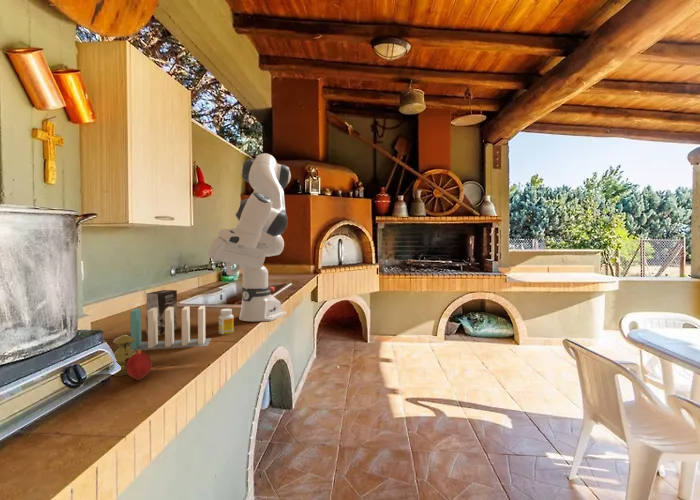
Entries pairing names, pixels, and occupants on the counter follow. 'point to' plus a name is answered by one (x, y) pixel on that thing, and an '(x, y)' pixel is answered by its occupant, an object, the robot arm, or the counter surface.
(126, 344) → the olive waisted piece
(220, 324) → the supplement bottle
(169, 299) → the coffee box
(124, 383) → the counter surface
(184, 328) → the domino
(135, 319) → the domino
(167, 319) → the domino
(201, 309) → the domino
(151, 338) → the domino
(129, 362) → the onion
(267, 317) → the robot arm
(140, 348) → the slate board
